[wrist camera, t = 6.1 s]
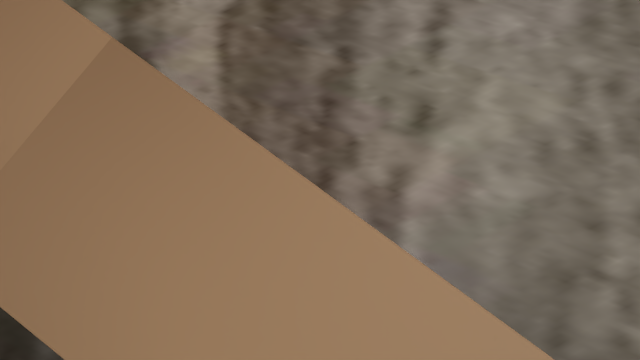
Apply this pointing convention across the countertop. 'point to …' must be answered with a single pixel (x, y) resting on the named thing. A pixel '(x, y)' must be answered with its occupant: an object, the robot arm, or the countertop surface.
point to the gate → (189, 226)
